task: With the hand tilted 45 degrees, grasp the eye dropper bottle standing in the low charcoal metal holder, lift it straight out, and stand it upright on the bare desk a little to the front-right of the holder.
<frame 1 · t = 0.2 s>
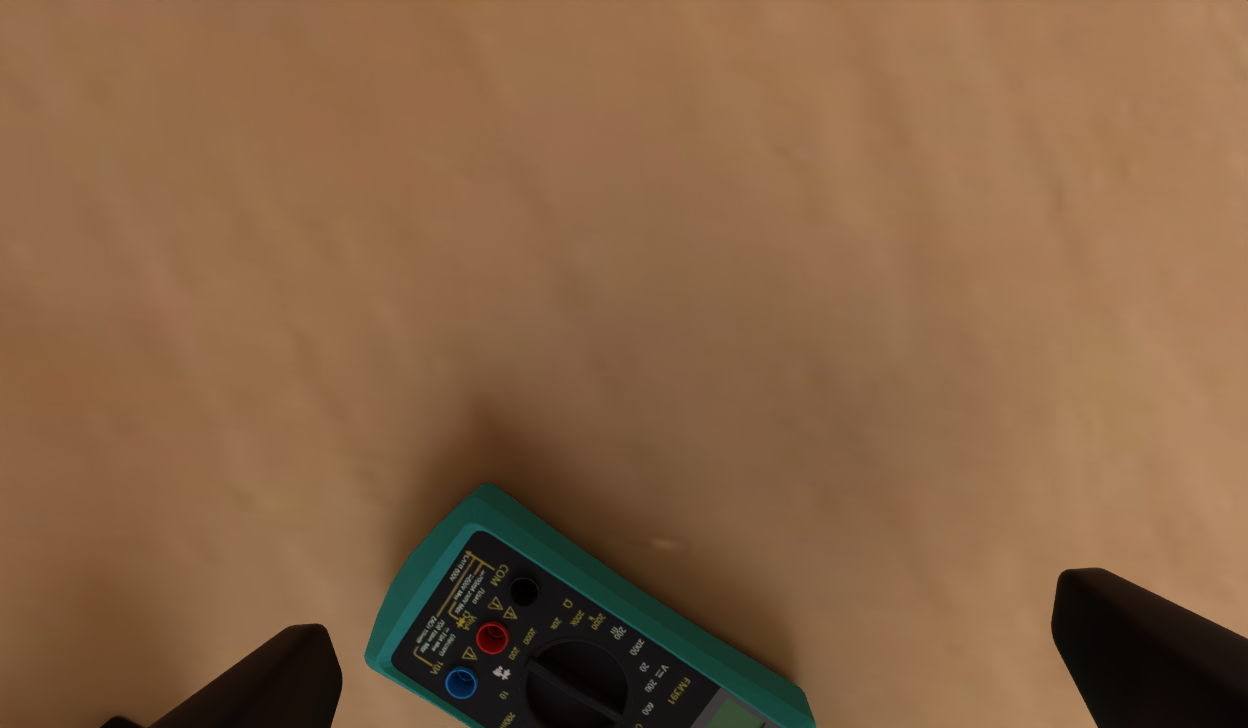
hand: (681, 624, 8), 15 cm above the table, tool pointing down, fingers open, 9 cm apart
digital multimeter: (594, 653, 25), on the table
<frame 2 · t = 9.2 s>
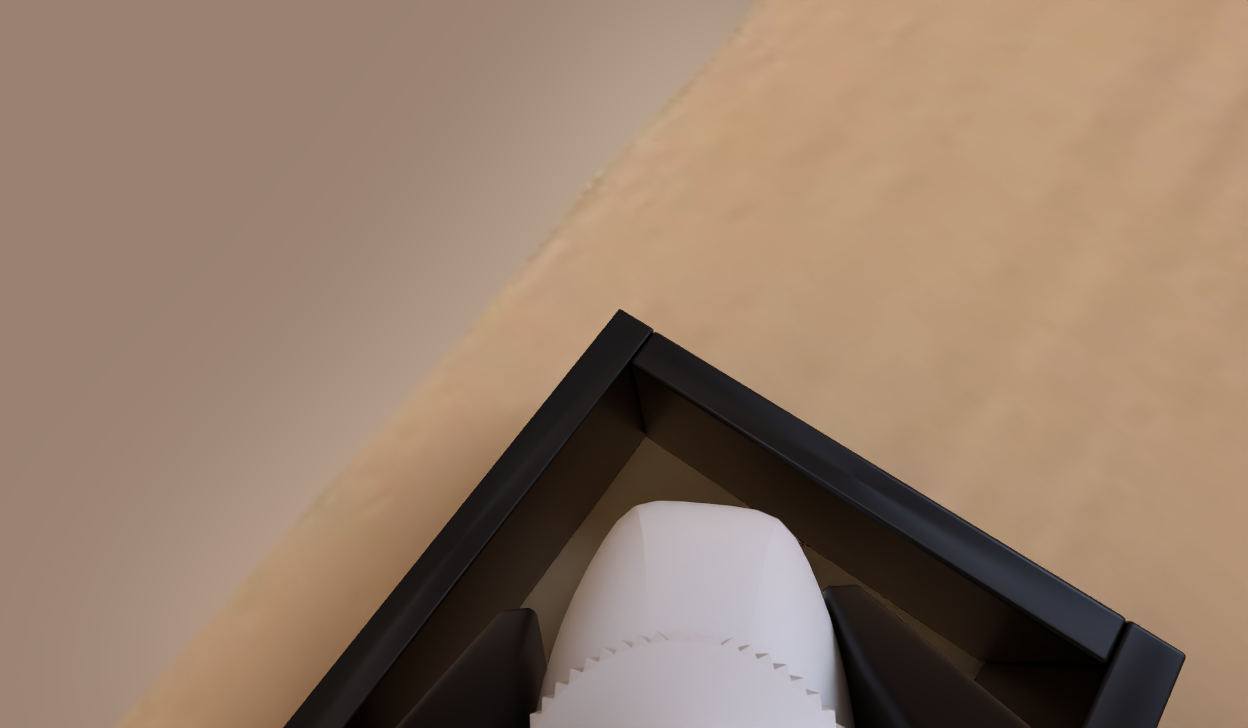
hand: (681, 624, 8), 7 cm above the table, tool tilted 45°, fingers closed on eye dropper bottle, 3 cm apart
holder: (692, 710, 14), on the table
eye dropper bottle: (692, 709, 14), resting in holder, touching gripper
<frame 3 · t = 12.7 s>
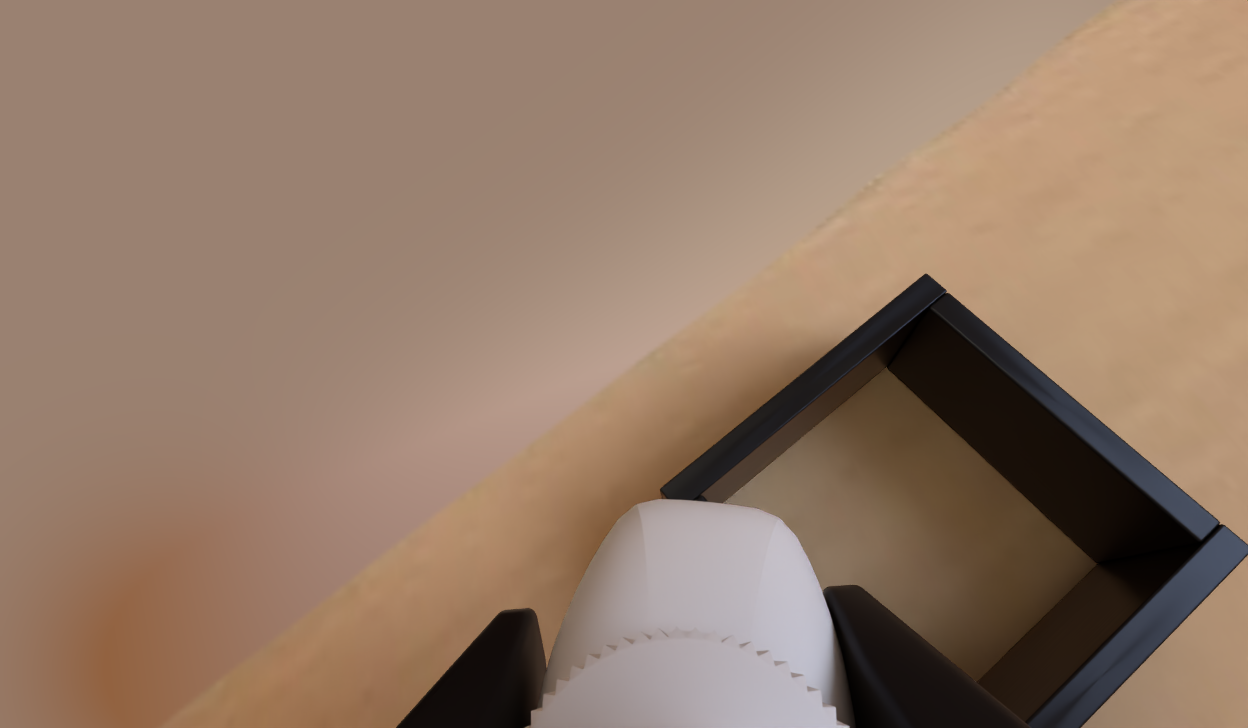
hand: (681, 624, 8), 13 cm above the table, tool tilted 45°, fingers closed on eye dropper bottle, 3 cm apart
holder: (890, 542, 21), on the table
eye dropper bottle: (693, 708, 14), point 6 cm above the table, touching gripper
when the fingers open (7 cm above the table, at t = 16.5 s): eye dropper bottle stays where it is, on the table.
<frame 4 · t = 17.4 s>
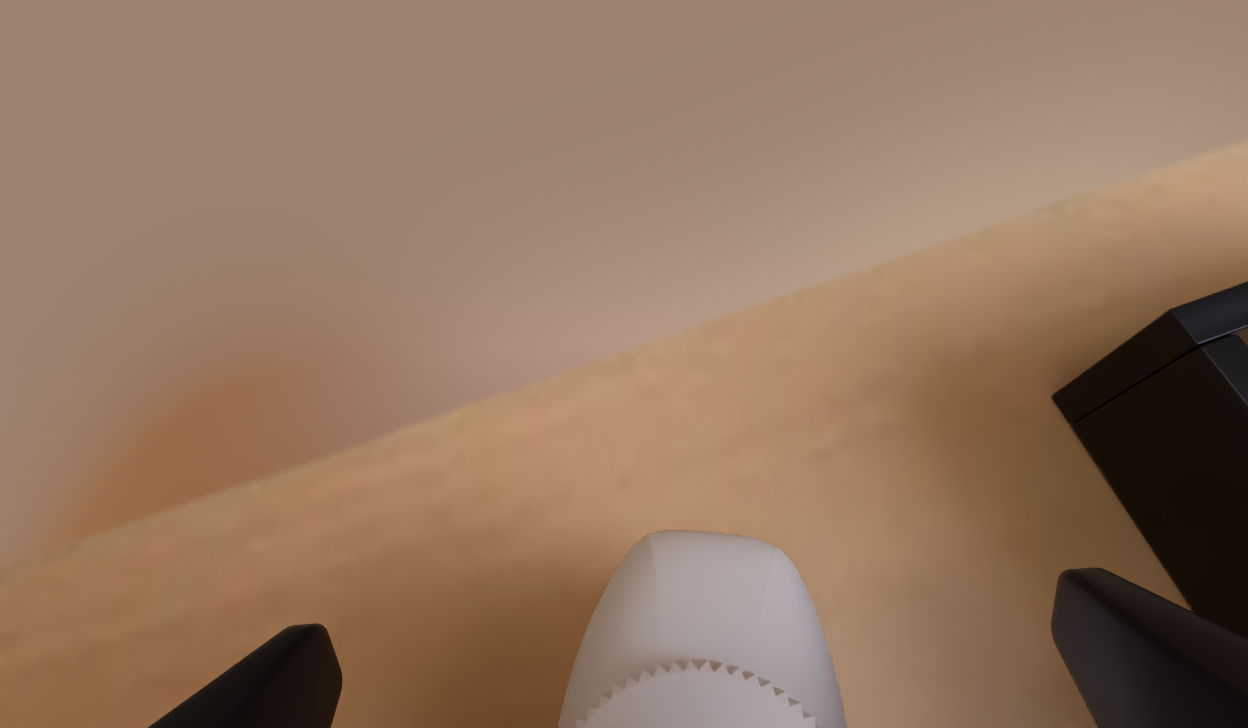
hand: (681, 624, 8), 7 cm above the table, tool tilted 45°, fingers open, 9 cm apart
eye dropper bottle: (696, 717, 14), on the table
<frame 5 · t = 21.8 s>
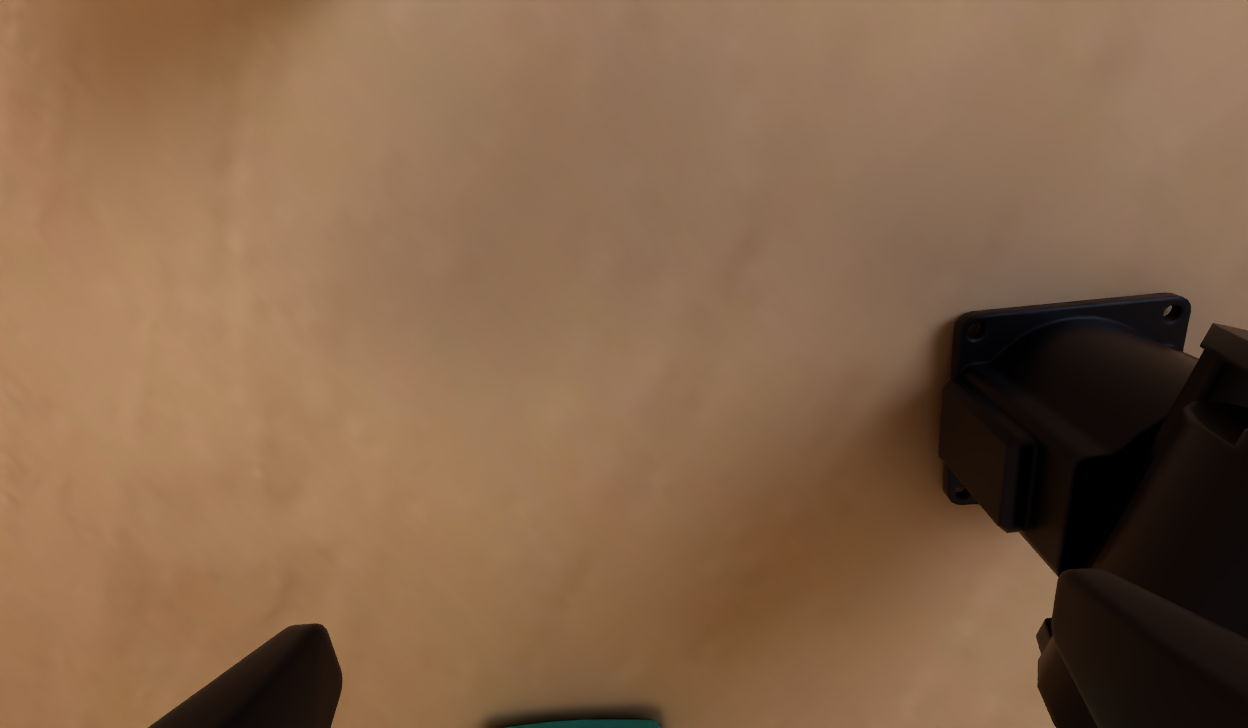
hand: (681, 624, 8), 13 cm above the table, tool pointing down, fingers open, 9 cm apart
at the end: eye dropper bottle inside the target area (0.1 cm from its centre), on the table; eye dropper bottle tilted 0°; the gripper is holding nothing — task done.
